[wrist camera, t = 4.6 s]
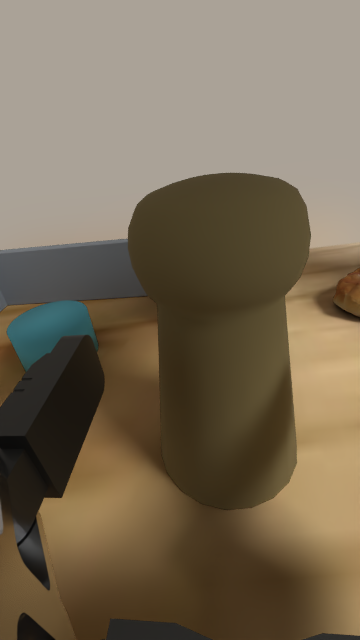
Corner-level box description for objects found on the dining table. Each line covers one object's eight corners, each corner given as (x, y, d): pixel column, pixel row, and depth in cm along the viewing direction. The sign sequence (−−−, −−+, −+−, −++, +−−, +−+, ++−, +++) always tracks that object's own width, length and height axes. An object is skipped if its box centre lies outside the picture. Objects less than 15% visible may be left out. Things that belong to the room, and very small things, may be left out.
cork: (172, 390, 17) (134, 174, 11) (286, 393, 16) (308, 154, 10) (147, 502, 12) (56, 215, 6) (311, 517, 11) (384, 185, 5)
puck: (107, 333, 23) (97, 298, 22) (84, 379, 19) (69, 339, 17) (45, 336, 24) (31, 302, 22) (10, 381, 20) (-11, 343, 18)
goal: (206, 286, 28) (200, 206, 24) (206, 330, 22) (198, 232, 18) (3, 300, 30) (-30, 229, 26) (-47, 342, 24) (-99, 259, 21)
